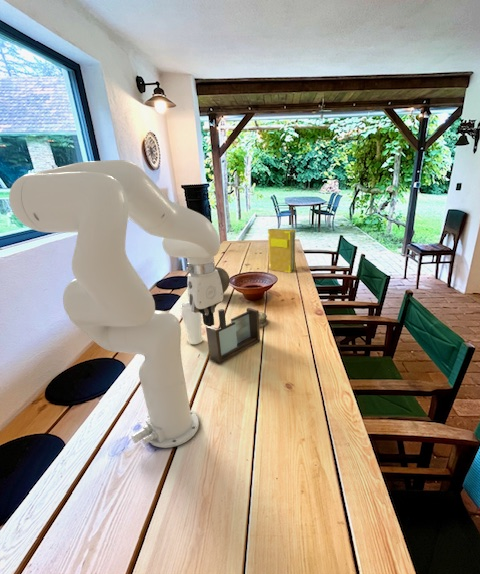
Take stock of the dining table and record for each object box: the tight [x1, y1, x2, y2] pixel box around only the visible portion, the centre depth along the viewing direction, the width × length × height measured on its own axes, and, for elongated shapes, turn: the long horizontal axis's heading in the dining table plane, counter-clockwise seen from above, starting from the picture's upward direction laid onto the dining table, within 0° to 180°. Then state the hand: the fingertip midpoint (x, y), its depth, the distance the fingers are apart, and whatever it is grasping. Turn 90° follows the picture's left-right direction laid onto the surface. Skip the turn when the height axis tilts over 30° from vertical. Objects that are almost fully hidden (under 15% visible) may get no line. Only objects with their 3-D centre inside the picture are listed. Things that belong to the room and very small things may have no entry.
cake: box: [259, 311, 268, 328], centre depth 134 cm, size 10×10×5 cm
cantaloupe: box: [215, 266, 231, 294], centre depth 164 cm, size 14×14×15 cm
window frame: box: [205, 307, 261, 365], centre depth 112 cm, size 20×5×12 cm, turn 139°
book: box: [267, 228, 296, 274], centre depth 202 cm, size 17×7×25 cm, turn 58°
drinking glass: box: [180, 301, 203, 345], centre depth 119 cm, size 7×7×15 cm
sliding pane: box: [218, 308, 237, 356], centre depth 107 cm, size 8×2×16 cm, turn 139°
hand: (209, 324), depth 101 cm, fingers closed
